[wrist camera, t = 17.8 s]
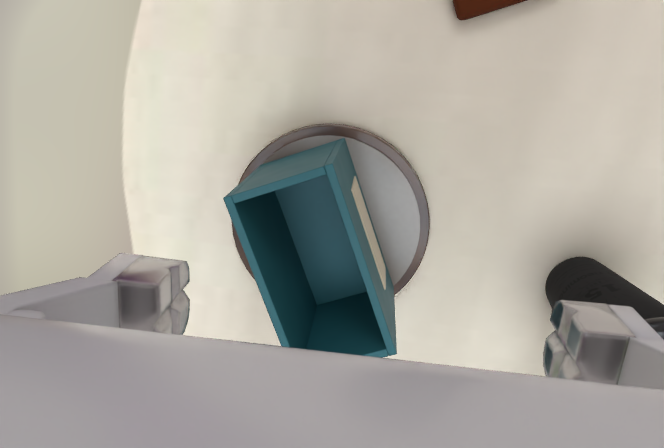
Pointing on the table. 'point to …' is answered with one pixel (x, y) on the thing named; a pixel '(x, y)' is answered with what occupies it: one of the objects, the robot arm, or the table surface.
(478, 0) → the smartphone
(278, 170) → the bin
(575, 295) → the drinking cup
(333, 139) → the disc
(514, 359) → the table surface
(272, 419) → the robot arm
